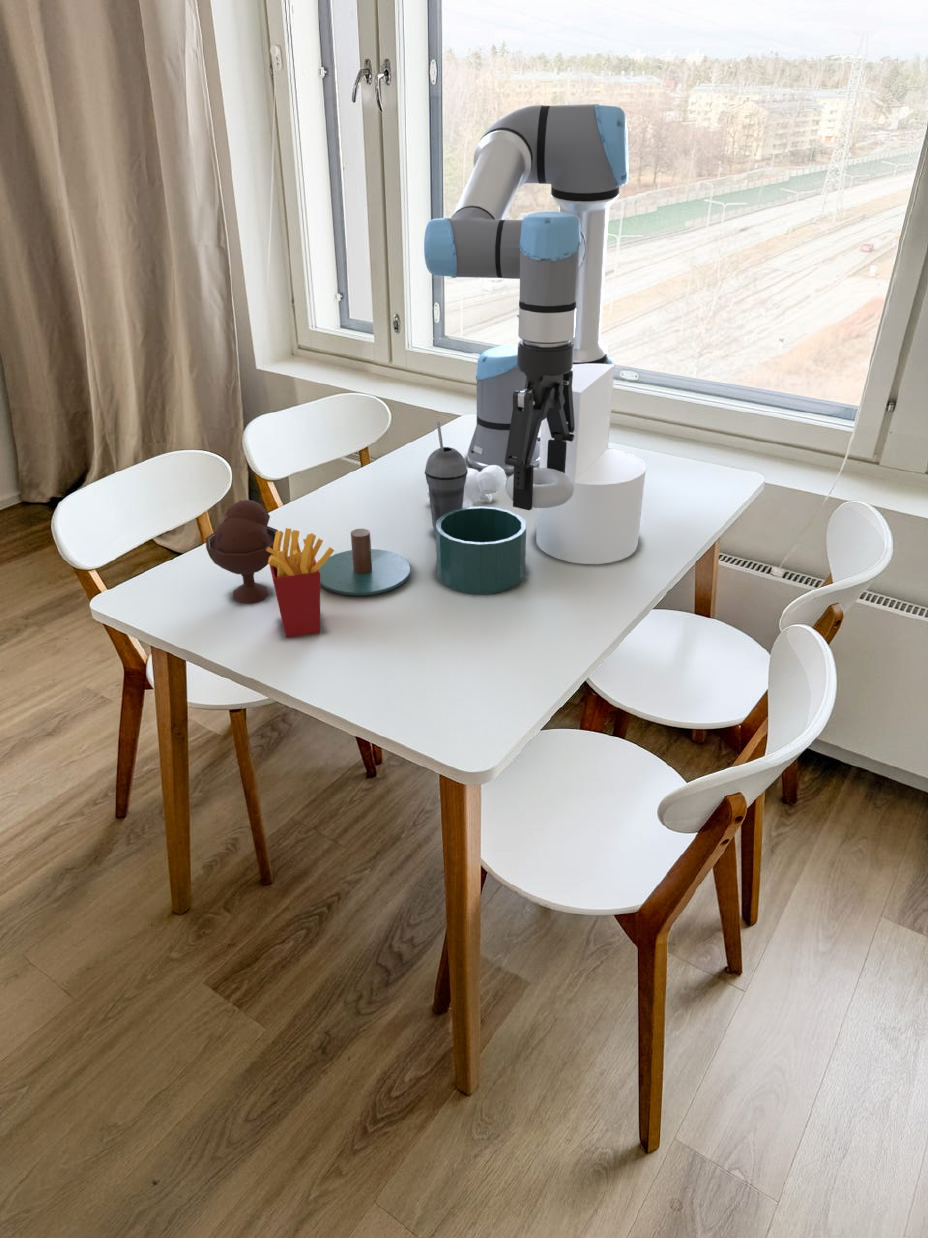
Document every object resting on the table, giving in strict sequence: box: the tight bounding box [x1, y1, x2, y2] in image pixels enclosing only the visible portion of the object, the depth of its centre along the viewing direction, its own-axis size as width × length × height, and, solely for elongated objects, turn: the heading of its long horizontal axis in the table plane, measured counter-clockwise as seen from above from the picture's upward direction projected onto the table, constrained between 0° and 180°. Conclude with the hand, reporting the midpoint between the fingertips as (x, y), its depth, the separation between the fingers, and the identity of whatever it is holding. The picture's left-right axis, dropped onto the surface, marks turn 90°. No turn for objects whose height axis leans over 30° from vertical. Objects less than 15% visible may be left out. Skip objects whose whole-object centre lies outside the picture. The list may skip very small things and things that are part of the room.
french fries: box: [266, 527, 335, 638], centre depth 123 cm, size 9×8×15 cm
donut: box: [505, 467, 574, 509], centre depth 128 cm, size 10×4×10 cm
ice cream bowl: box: [205, 499, 279, 604], centre depth 131 cm, size 11×11×15 cm
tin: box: [435, 505, 527, 595], centre depth 138 cm, size 14×14×8 cm
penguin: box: [426, 465, 508, 508], centre depth 161 cm, size 9×8×15 cm
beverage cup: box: [424, 421, 468, 537], centre depth 148 cm, size 7×7×20 cm
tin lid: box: [319, 528, 411, 596], centre depth 138 cm, size 15×15×8 cm
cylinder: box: [535, 364, 647, 565], centre depth 143 cm, size 17×17×28 cm
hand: (539, 494), depth 129 cm, fingers closed on donut, 10 cm apart
